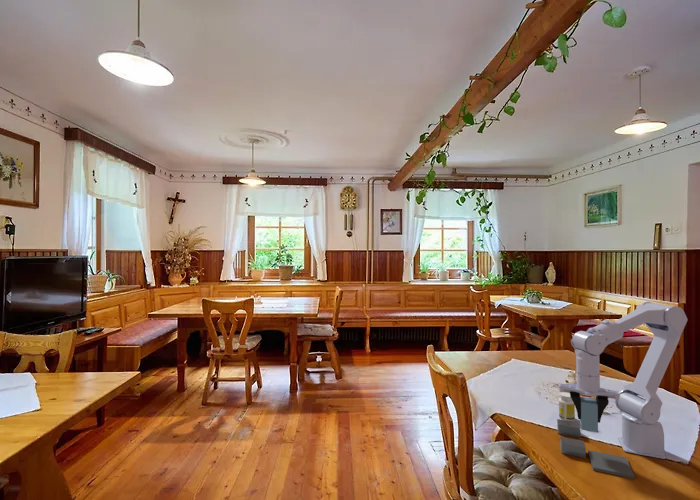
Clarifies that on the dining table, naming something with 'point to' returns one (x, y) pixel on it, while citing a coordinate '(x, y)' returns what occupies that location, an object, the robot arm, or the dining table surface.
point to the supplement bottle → (566, 407)
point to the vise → (568, 444)
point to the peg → (589, 414)
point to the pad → (610, 464)
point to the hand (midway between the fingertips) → (588, 419)
